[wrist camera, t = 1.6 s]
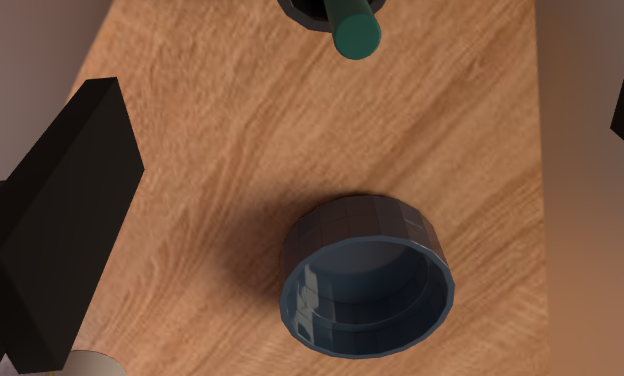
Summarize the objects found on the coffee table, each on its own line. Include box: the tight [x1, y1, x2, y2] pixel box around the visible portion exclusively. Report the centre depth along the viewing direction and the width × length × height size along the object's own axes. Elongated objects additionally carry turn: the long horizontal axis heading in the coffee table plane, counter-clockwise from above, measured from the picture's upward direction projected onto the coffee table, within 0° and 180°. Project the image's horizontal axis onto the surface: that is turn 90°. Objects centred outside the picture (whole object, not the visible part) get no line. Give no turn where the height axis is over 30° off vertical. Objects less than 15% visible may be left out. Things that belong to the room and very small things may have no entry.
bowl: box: [279, 195, 455, 359], centre depth 46 cm, size 15×15×6 cm
